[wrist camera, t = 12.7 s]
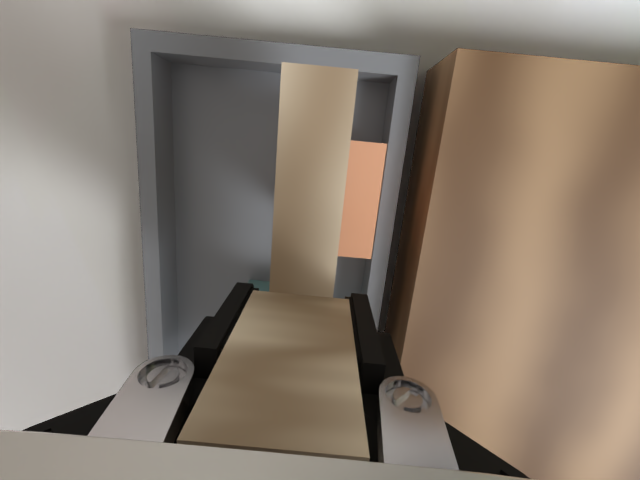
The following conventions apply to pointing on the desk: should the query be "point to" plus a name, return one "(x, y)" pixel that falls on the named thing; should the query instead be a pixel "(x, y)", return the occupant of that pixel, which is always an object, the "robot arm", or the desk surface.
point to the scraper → (295, 298)
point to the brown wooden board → (527, 260)
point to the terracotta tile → (361, 198)
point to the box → (240, 167)
